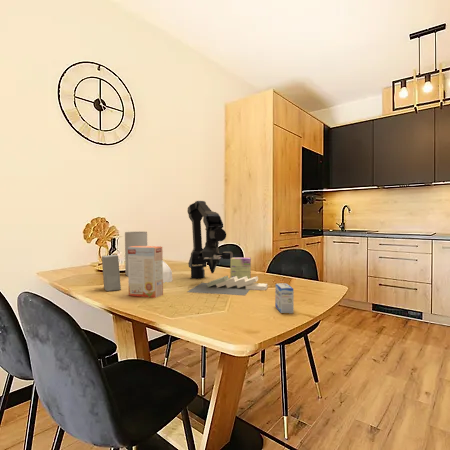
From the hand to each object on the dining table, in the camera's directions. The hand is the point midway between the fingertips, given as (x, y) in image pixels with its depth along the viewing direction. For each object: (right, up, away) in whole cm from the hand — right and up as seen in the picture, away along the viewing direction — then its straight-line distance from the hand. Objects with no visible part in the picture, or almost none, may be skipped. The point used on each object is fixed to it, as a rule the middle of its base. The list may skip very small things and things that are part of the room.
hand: (212, 273), depth 143 cm
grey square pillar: (-46, -7, +35) cm, 58 cm away
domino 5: (+16, -5, -4) cm, 17 cm away
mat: (+4, -7, -5) cm, 9 cm away
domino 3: (+7, -5, -2) cm, 9 cm away
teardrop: (-27, -7, +16) cm, 32 cm away
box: (+14, -6, +15) cm, 21 cm away
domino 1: (-2, -5, +1) cm, 5 cm away
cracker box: (-28, -7, -15) cm, 32 cm away
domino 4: (+12, -5, -3) cm, 14 cm away
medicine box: (+26, -7, -37) cm, 46 cm away
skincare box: (-47, -7, -2) cm, 47 cm away
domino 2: (+3, -5, -1) cm, 6 cm away
